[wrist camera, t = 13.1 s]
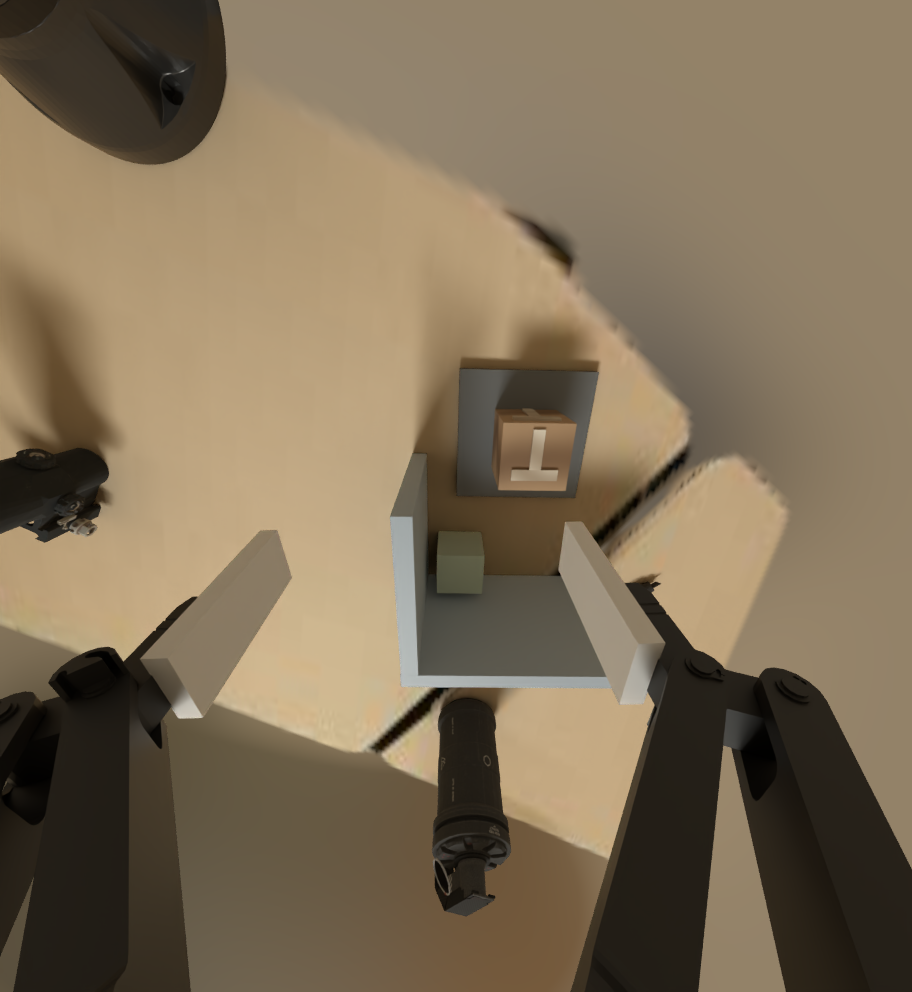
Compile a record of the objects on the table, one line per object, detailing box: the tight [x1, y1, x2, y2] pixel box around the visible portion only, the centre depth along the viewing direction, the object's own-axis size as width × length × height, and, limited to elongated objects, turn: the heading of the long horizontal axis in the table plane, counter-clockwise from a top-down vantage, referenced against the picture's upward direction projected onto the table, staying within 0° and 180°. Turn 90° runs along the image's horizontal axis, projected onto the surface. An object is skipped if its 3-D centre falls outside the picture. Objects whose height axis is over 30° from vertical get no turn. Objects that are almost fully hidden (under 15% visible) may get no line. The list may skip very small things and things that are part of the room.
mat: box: [457, 368, 599, 498], centre depth 34 cm, size 13×13×1 cm
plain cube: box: [437, 531, 485, 594], centre depth 38 cm, size 5×5×5 cm
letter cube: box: [491, 408, 577, 491], centre depth 31 cm, size 6×6×6 cm
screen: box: [390, 453, 611, 688], centre depth 33 cm, size 17×23×14 cm
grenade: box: [432, 699, 511, 916], centre depth 45 cm, size 9×11×20 cm
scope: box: [0, 448, 109, 543], centre depth 30 cm, size 8×14×10 cm
